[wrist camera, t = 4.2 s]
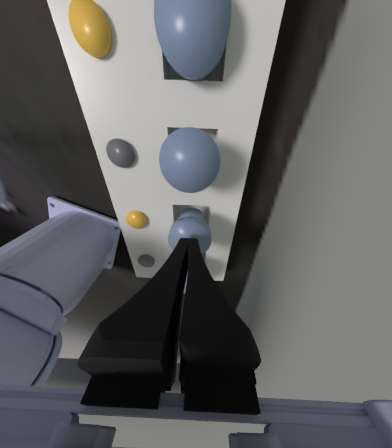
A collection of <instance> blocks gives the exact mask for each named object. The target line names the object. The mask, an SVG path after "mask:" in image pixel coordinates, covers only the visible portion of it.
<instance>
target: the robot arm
mask: <svg viewBox="0 0 392 448" xmlns="http://www.w3.org/2000/svg"><path fill="white" fill-rule="evenodd" d="M47 201H48V210H49V218H50V219H49V220H47V221H45V222H43V223H42V224H40V225H38V226H36V227H35V228H33V229H31V230H30V231H28V232H26V233H24V234H23V235H21V236H19V237H18V238H16V239H14V240H12V241H11V242H9V243H7V244H5V245H4V246H2V247H0V448H123V447H112V442H113V439H114V435H115V432H116V428H115V427H109V426H100V425H92V424H79V416H78V414H87V415H105V416H125V417H143V418H160V419H178V420H179V419H180V420H197V421H216V422H234V423H252V424H267V425H266V426H265V428H264V433H230V434H229V446H230V448H392V400H369V401H364V402H363V403H350V402H332V401H331V402H330V401H311V400H293V399H275V398H258V397H257V392H256V388H255V384H256V378H255V373H254V370H255V369H256V368H257V367H258V366H259V365H260V363H261V358H260V354H259V351H258V348H257V345H256V343H255V340H254V338H253V335H252V333H251V331H250V329H249V328H248V327H247V325H246V324H245V323H244V322H243V321H242V320H241V318H240V317H239V316H238V315H237V313H236V312H235V311H234V309H233V308H232V307H231V305H230V304H229V303H228V301H227V300H226V298H225V297H224V295H223V294H222V292H221V291H220V289H219V288H218V286H217V285H216V283H215V281H214V279H213V278H212V276H211V274H210V272H209V270H208V268H207V266H206V264H205V261H204V259H203V256H202V253H201V250H200V247H199V242H198V239H197V238H180V239H179V241H178V243H177V245H176V247H175V248H174V250H173V251H172V253H171V254H170V256H169V257H168V259H167V260H166V261H165V263H164V264H163V265H162V267H161V268H160V269H159V270H158V271H157V273H156V274H155V275H154V276H153V277H152V278H151V279H150V280H149V281H148V282H147V283H146V284H145V285H144V286H143V287H142V288H141V289H140V290H139V291H138V292H137V293H136V294H135V295H134V296H132V297H131V298H130V299H129V300H128V301H127V302H126V303H125V304H123V305H122V306H121V307H120V308H118V309H117V310H116V311H115V312H113V313H112V314H111V315H109V316H108V317H107V318H106V319H104V320H103V321H102V322H100V323H99V325H98V327H97V328H96V330H95V331H94V333H93V334H92V336H91V337H90V339H89V341H88V343H87V345H86V347H85V349H84V350H83V352H82V354H81V356H80V358H79V360H78V367H80V368H81V369H82V370H84V371H85V372H87V373H88V374H90V375H91V376H92V377H91V379H90V382H89V384H88V386H87V388H66V387H48V386H43V384H44V383H45V381H46V379H47V378H48V376H49V375H50V373H51V371H52V369H53V367H54V365H55V363H56V361H57V358H58V356H59V353H60V350H61V346H62V336H61V333H60V332H59V331H60V330H61V328H62V327H63V326H64V324H65V323H66V321H67V319H66V318H65V317H64V315H65V314H67V313H68V312H70V311H71V310H72V309H73V308H74V307H75V306H76V305H77V304H78V303H79V302H80V300H81V299H82V298H83V296H84V295H85V293H86V292H87V291H88V289H89V288H90V286H91V285H92V284H93V282H94V281H95V279H96V278H97V277H98V275H99V274H100V272H101V271H102V270H103V268H104V267H105V268H108V269H111V268H112V267H113V263H114V259H115V255H116V250H117V246H118V241H119V237H120V232H121V227H120V224H119V221H118V220H115V219H113V218H110V217H107V216H105V215H102V214H99V213H97V212H94V211H91V210H89V209H86V208H83V207H81V206H78V205H75V204H72V203H70V202H67V201H64V200H62V199H59V198H56V197H53V196H51V197H49V198H47ZM116 227H117V228H116ZM187 272H188V275H187ZM186 277H187V283H186ZM185 283H186V292H185V299H184V307H183V315H182V322H181V329H180V336H179V328H180V318H181V307H182V299H183V293H184V288H185ZM178 339H179V346H180V356H181V361H180V373H179V381H180V383H181V394H179V393H165V391H171V386H172V385H173V384H174V382H175V375H176V363H177V351H178Z"/></svg>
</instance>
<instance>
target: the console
mask: <svg viewBox="0 0 392 448" xmlns="http://www.w3.org/2000/svg"><path fill="white" fill-rule="evenodd" d="M285 1H286V0H231V23H230V30H229V34H228V38H227V42H226V45H225V49H224V52H223V54H222V57H221V59H220V61H219V63H218V64H217V66H216V67H215V68H214V70H213V71H212V72H211V73H210V74H208V76H207V77H206V78H204V79H203V80H201V81H191V80H187V79H186V78H183V77H181V76H180V75H179V74H177V73H176V72H175V71H174V70H173V68H172V67H171V66H170V64H169V63H168V61H167V59H166V57H165V55H164V53H163V51H162V49H161V46H160V44H159V41H158V37H157V34H156V29H155V22H154V0H47V2H48V5H49V8H50V11H51V14H52V18H53V21H54V24H55V27H56V30H57V33H58V36H59V39H60V42H61V45H62V48H63V52H64V55H65V58H66V61H67V64H68V67H69V70H70V73H71V76H72V79H73V82H74V85H75V89H76V92H77V95H78V98H79V101H80V104H81V107H82V110H83V113H84V116H85V119H86V122H87V126H88V129H89V132H90V135H91V138H92V141H93V144H94V147H95V150H96V153H97V156H98V160H99V163H100V166H101V169H102V172H103V175H104V178H105V181H106V184H107V187H108V190H109V193H110V197H111V200H112V203H113V206H114V209H115V212H116V215H117V218H118V221H119V224H120V227H121V231H122V234H123V237H124V240H125V243H126V246H127V249H128V252H129V255H130V258H131V261H132V264H133V268H134V271H135V274H136V277H147V278H152V277H153V276H154V275H155V274H156V273H157V271H158V270H159V269H160V268H161V267H162V265H163V264H164V263H165V261H166V260H167V259H168V257H169V256H170V254H171V253H172V251H173V250H172V249H171V247H170V246H169V243H168V235H169V231H170V228H171V226H172V224H173V223H174V222H175V221H176V220H178V216H179V214H180V213H181V212H182V211H183V210H184V209H187V208H196V209H198V210H200V211H201V212H202V213H203V214H204V216H205V220H206V223H207V225H208V226H209V228H210V231H211V245H210V247H209V249H208V250H207V251H206V252H205V253H203V254H202V256H203V259H204V261H205V264H206V266H207V268H208V270H209V272H210V274H211V276H212V278H213V279H214V281H223V280H224V275H225V271H226V266H227V262H228V257H229V253H230V248H231V244H232V239H233V235H234V230H235V226H236V221H237V217H238V212H239V208H240V203H241V199H242V194H243V190H244V185H245V181H246V176H247V172H248V167H249V163H250V158H251V154H252V149H253V145H254V140H255V136H256V131H257V127H258V122H259V118H260V113H261V109H262V104H263V100H264V95H265V91H266V86H267V82H268V77H269V73H270V68H271V64H272V59H273V55H274V50H275V46H276V41H277V37H278V32H279V28H280V23H281V19H282V14H283V10H284V5H285ZM184 127H194V128H198V129H200V130H202V131H204V132H206V133H207V134H208V135H209V136H210V137H211V138H212V139H213V140H214V142H215V143H216V145H217V147H218V150H219V154H220V168H219V172H218V174H217V177H216V178H215V180H214V181H213V183H212V184H211V185H210V186H209V187H207V188H206V189H204V190H202V191H200V192H196V193H185V192H181V191H179V190H177V189H175V188H174V187H172V186H171V185H170V184H169V183H168V182H167V181H166V179H165V178H164V176H163V174H162V172H161V169H160V164H159V154H160V149H161V146H162V144H163V142H164V141H165V139H166V138H167V137H168V136H169V135H170V134H171V133H172V132H174V131H175V130H177V129H180V128H184Z"/></svg>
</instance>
